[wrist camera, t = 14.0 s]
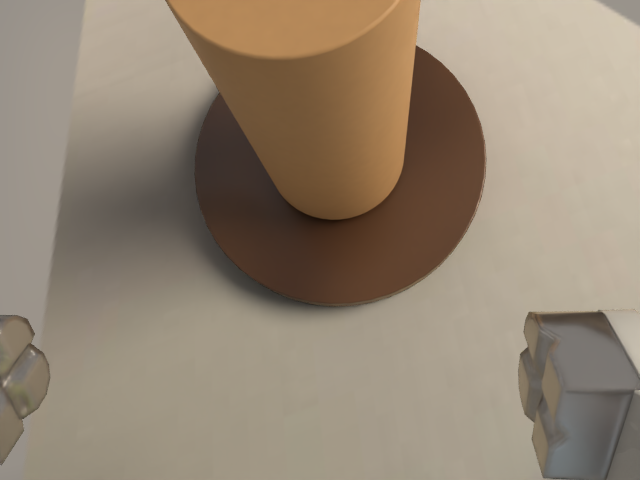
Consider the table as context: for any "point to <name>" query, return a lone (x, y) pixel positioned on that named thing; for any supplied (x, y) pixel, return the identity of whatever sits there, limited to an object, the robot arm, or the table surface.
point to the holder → (356, 232)
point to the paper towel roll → (314, 91)
